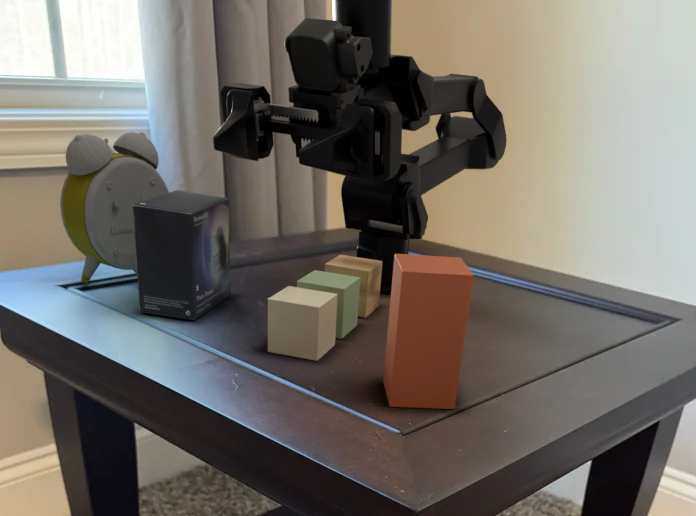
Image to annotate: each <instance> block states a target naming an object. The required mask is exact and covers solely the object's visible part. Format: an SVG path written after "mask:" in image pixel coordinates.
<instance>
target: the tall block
mask: <svg viewBox="0 0 696 516" xmlns="http://www.w3.org/2000/svg"><path fill="white" fill-rule="evenodd" d="M474 276H475V275H474V273H473V272H472V271H471V269H470V268H469V267H468V265H467V264H466V262H465V261H464V260H463V258H462V257H459V256H458V257H457V256H441V255H427V254H426V255H423V254H409V253H408V254H395V255H394V266H393V277H392V289H391V292H390V301H389V312H388V313H389V314H388V323H387V335H386V347H385V355H384V356H385V357H384V367H383V368H384V369H383V381H382V382H383V386H384V390H385V394H386V398H387V402H388V405H389V408H411V409H413V408H415V409H435V410H436V409H439V410H455V409H456V403H457V402H456V401H457V394H458V388H459V381H460V374H461V366H462V361H463V359H462V358H463V354H464V353H463V352H464V348H465V347H464V346H465V341H466V339H465V338H466V332H467V325H468V318H469V311H470V306H471V305H470V304H471V298H472V290H473V286H474V285H473V283H474Z"/></svg>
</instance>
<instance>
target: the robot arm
mask: <svg viewBox="0 0 696 516" xmlns="http://www.w3.org/2000/svg"><path fill="white" fill-rule="evenodd" d="M331 2H332V3H331V6H332V7H331V9H332V19H322V18H309V17H307V18H304V19H302V21H301V22H300V23H299V24H297V26H295V28H294V29H293V30H292V31H291V32H290V33H289V34H288V35H287V36H286V37H285V39H284V49H285V52H286V53H287V56H288V60H289V64H290V68H291V71H292V77H293V79H294V82H295V84H294V85H292V86H288V87H287V89H288V102H289V103H291V104H292V106H291V105H283V104H277V103H272V101H271V100H272V99H271V94H270V92H269V91H268V90H267V88H266V86H264V85H259V84H251V83H244V82H243V83H242V82H233V83H229V84H226V85H223V87H222V89H220V91H219V92H220V101H221V111H222V122H223V123H222V125H221V126H220V127H219V128H218V129H217V131H216V132H215V133H214V134H213V136H212V146H213V149H214V151H217V152H221V153H224V154H227V155H230V156H231V157H234V158H237V159H241V160H242V159H243V160H248V161H249V160H250V161H254V162H258V161H259V160H263V159H266V158H268V157H270V155H271V153H272V150H273V148H274V145H275V143H274V133H276V134H282V135H287V136H290V138H291V140H292V143H293V144H294V145H295V158H298V163H299V165H301V166H305V167H309V168H313V169H316V170H320V171H323V172H324V171H325V172H329V173H332V174H336V175H340V176H343V177H344V178H343V180H342V183H341V189H340V190H341V191H340V195H341V196H340V197H341V204H342V211H343V218H344V226H345V229H348V230H351V229H352V230H357V231H358V237H357V239H358V241H357V247H356V255H355V257H359V258H365V259H372V260H378V261H382V274H381V286H380V293H383V294H389V293H390V294H391V289H392V277H393V266H394V255H395V254H409V251H410V241H411V240H422V239H423V236H425V233H426V230H427V227H428V220H429V215H428V213H427V209H426V206H425V203H424V201H423V197H422V196H423V195H425V194H426V193H428V192H430V191H431V190H434V188H436V187H438V186H440V185H441V184H443V183H445V182H446V181H448V180H450V179H451V178H452V177H454V176H457V175H458V174H459V173H461V172H463V171H464V170H489V169H494V168H495V167H496V166H497V165H498V163H499V162H500V161H501V160H502V159H503V157H504V154H505V152H506V148H507V131H506V126H505V121H504V115H503V113H502V111H501V110H500V109H499V108H498V106H497V104H495V103H494V102H493V100H492V99H491V97H489V95H488V94H487V91H486V90H487V89H486V84H485V81H484V79H482V78H480V77H479V76H477V75H468V74H458V73H449V74H447V75H437V76H433V75H431V74H428V73H427V72H424V71H422V69H420V68H419V66H418V64H417V62H416V60H415V59H414V57H413V56H412V55H401V54H392V21H393V19H392V18H393V17H392V16H393V15H392V13H393V12H392V11H393V9H392V8H393V0H331ZM463 112H464V113H471V115H472V117H468V116H461V115H453V116H452V114H454V113H463ZM439 115H440V117H439V118H438V120H437V123H436V126H435V132H436V136H437V139H435V140H434V141H432V142H430V143H428V144H426V145H424V146H422V147H420V148H418V149H417V150H415V151H412V152H410V153H409V154H408V153H402V145H403V144H402V143H403V141H402V140H403V131H410V132H416V131H418V130H420V129H422V128H423V127H425V126H427V125H428V124H429V123H430V121H431V117H432V116H439Z"/></svg>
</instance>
